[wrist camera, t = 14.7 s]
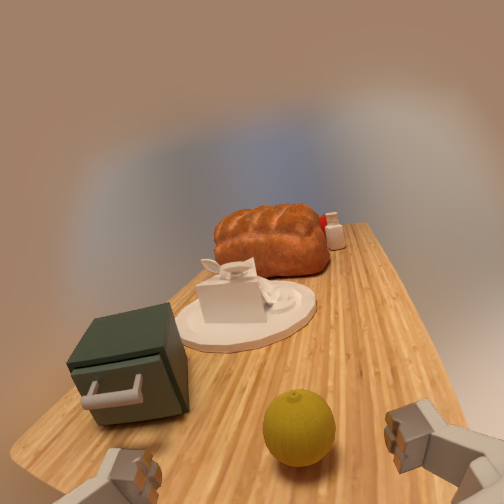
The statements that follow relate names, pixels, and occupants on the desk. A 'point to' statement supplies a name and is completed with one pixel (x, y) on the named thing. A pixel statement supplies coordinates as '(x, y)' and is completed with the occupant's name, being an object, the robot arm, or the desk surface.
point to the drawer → (127, 390)
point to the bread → (273, 240)
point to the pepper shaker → (334, 232)
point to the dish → (243, 310)
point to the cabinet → (136, 343)
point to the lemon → (299, 428)
